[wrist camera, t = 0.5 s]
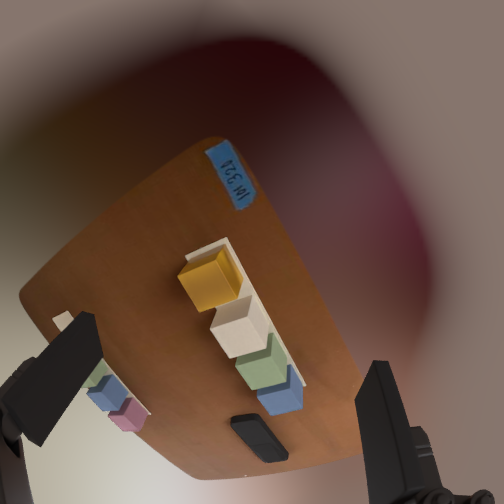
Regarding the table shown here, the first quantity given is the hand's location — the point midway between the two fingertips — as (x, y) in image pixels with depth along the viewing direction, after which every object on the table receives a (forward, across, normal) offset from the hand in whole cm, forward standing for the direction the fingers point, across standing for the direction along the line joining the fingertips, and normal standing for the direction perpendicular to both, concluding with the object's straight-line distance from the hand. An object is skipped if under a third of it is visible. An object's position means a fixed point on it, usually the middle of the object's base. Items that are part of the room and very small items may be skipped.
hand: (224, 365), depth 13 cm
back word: (+19, -23, -27) cm, 41 cm away
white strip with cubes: (+19, +1, -12) cm, 23 cm away
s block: (+19, -4, -4) cm, 20 cm away
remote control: (+19, +5, -36) cm, 41 cm away
